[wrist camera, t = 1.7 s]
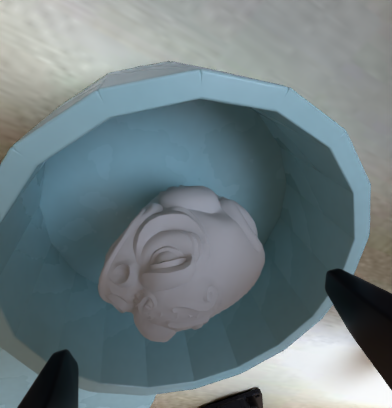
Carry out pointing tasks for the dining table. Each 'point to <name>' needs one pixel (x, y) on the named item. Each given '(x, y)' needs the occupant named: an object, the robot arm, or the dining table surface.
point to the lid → (87, 401)
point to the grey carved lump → (182, 261)
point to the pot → (150, 188)
